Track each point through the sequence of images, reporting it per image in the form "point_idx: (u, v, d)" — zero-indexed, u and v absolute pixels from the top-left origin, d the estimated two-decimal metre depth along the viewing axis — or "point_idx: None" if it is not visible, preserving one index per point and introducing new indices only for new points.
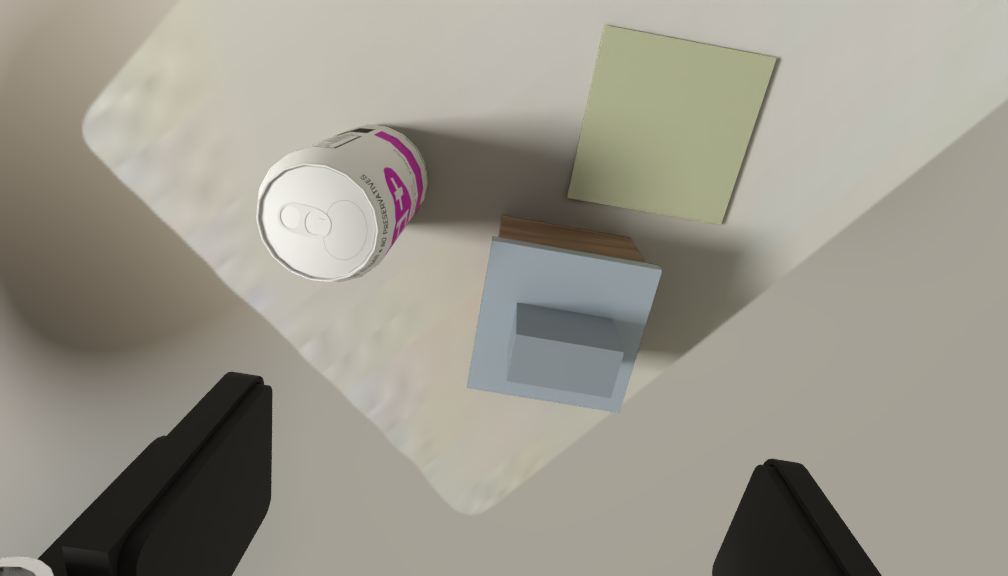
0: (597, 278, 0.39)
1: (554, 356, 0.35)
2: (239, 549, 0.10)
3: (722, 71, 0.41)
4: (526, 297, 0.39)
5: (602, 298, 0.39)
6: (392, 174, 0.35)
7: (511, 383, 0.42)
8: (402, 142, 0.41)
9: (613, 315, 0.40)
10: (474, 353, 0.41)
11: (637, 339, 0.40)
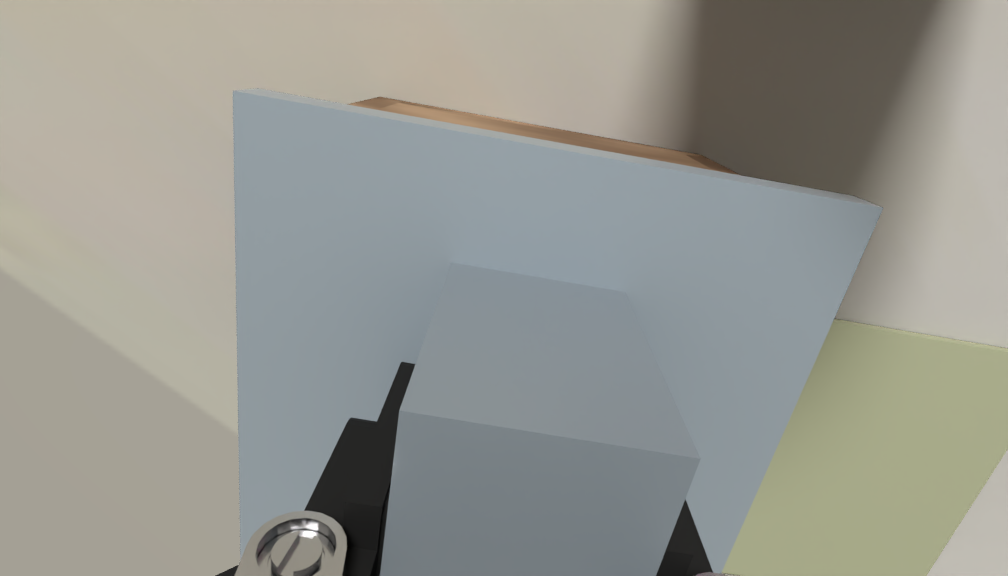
0: None
1: None
2: None
3: (912, 539, 0.24)
4: (641, 323, 0.11)
5: None
6: None
7: (289, 274, 0.11)
8: None
9: None
10: (404, 129, 0.10)
11: None
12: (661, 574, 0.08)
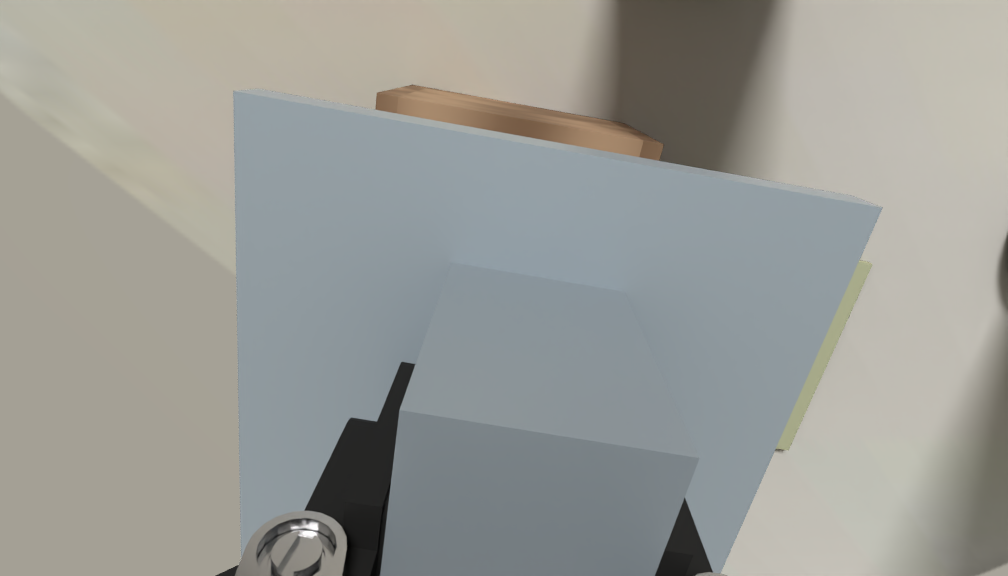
0: None
1: None
2: None
3: None
4: (641, 323, 0.11)
5: None
6: None
7: (289, 274, 0.11)
8: None
9: None
10: (404, 129, 0.10)
11: None
12: (661, 574, 0.08)
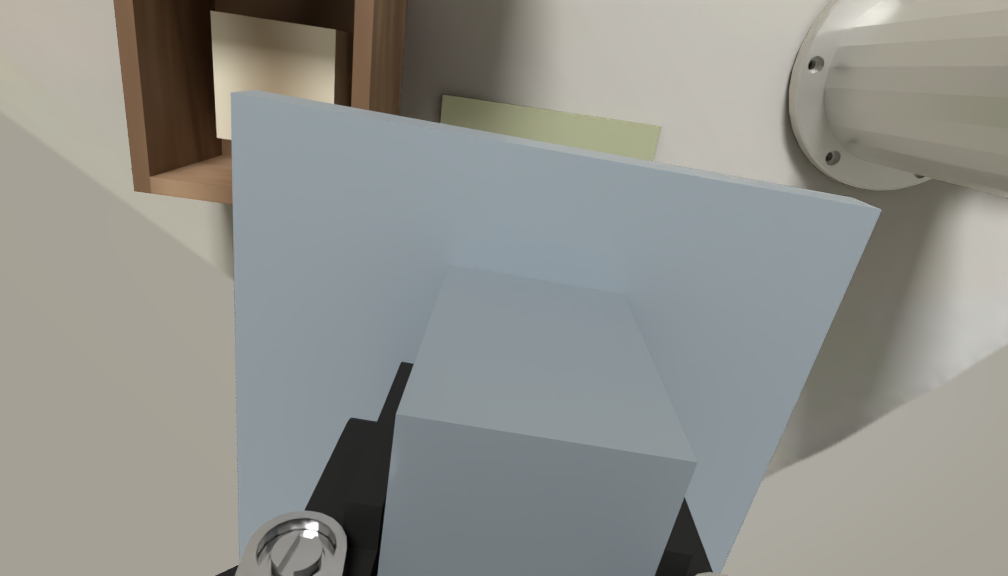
0: None
1: None
2: None
3: None
4: (640, 325, 0.11)
5: None
6: None
7: (287, 276, 0.11)
8: None
9: None
10: (402, 131, 0.10)
11: None
12: (661, 574, 0.08)
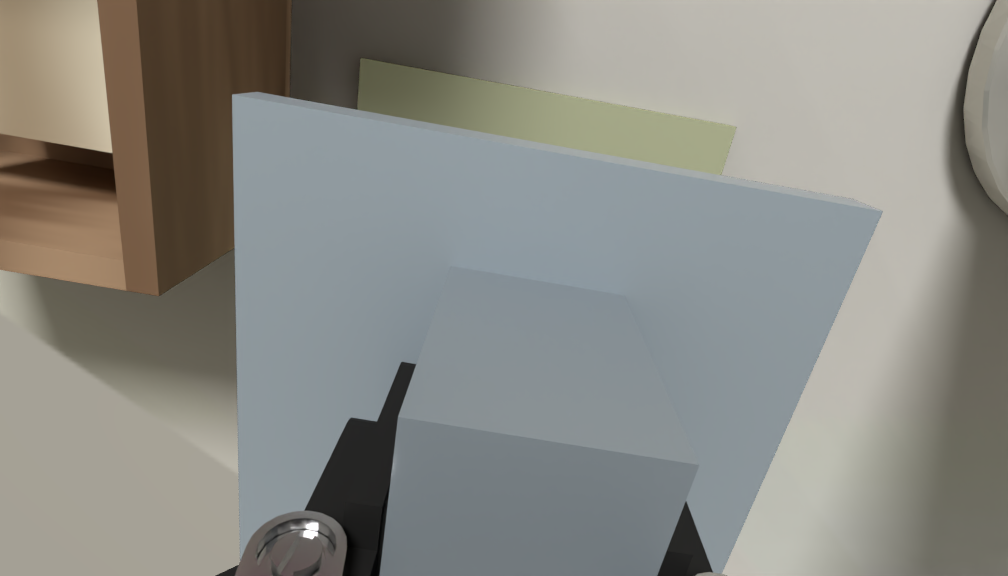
0: None
1: None
2: None
3: None
4: (641, 326, 0.11)
5: None
6: None
7: (288, 278, 0.11)
8: None
9: None
10: (403, 133, 0.10)
11: None
12: (661, 574, 0.08)
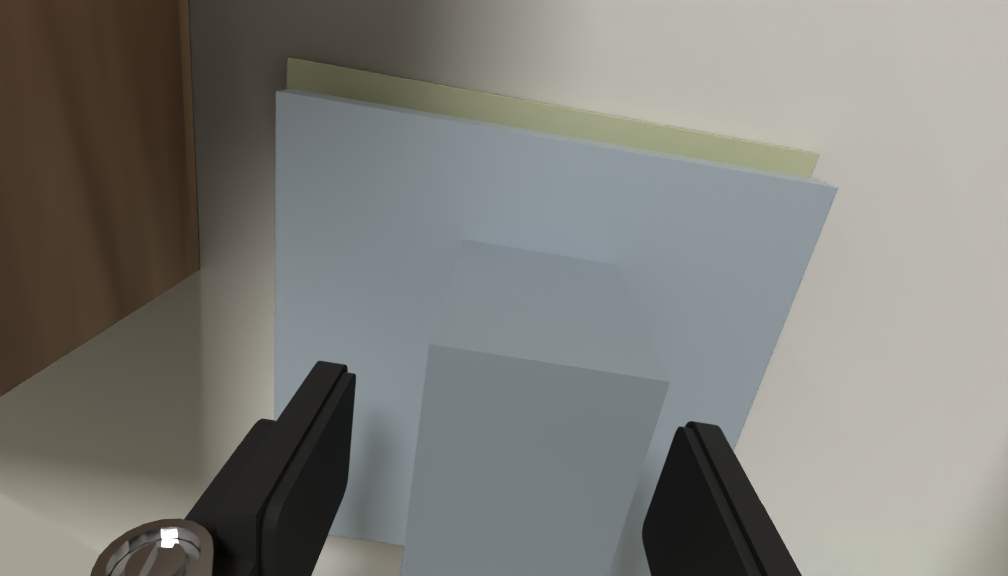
0: None
1: (555, 514, 0.09)
2: (327, 524, 0.10)
3: None
4: (630, 292, 0.13)
5: None
6: None
7: (321, 251, 0.13)
8: None
9: None
10: (422, 123, 0.12)
11: None
12: None
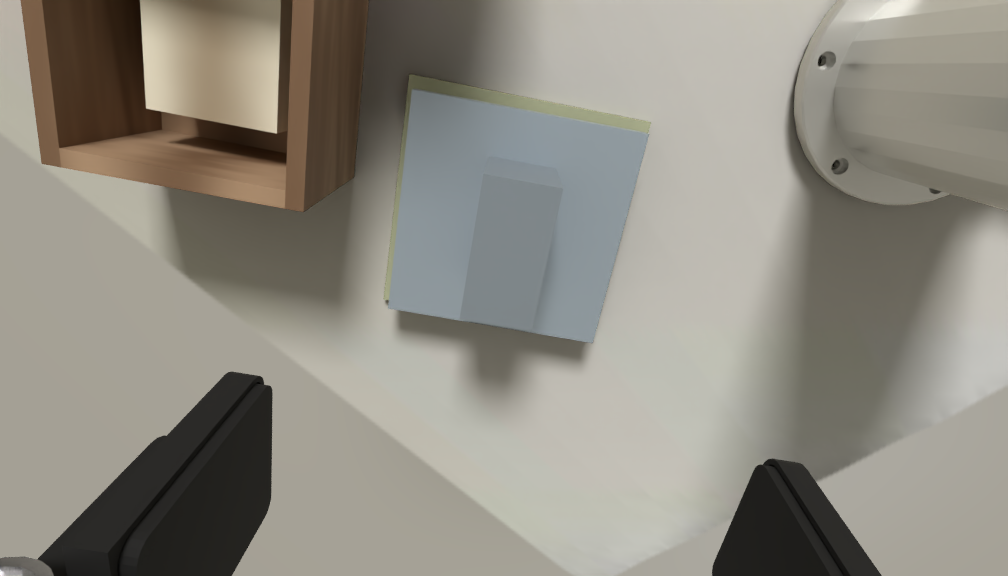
0: (585, 271, 0.30)
1: (525, 243, 0.25)
2: (239, 549, 0.10)
3: None
4: (562, 181, 0.29)
5: (558, 278, 0.31)
6: None
7: (425, 161, 0.28)
8: None
9: None
10: (473, 104, 0.27)
11: None
12: None
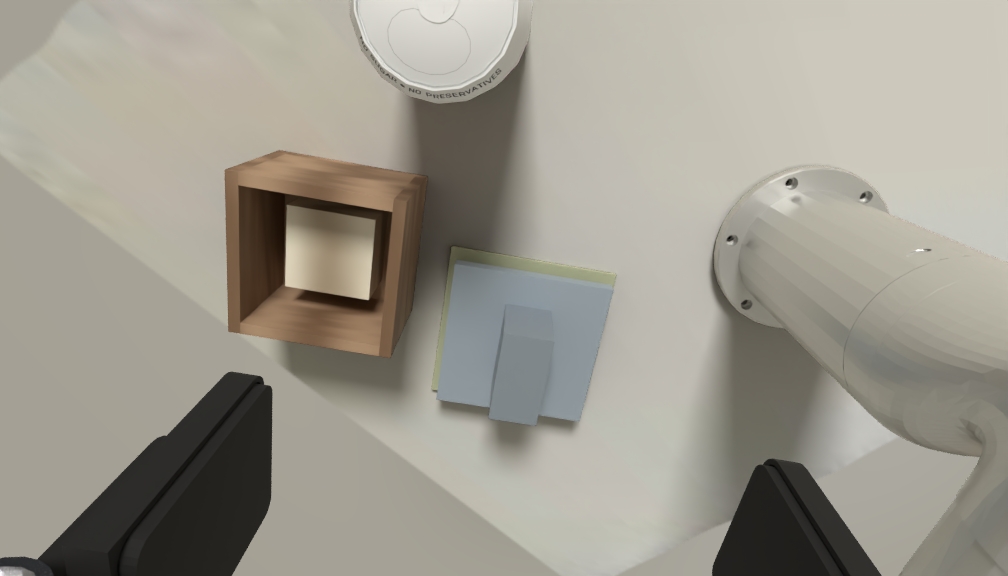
0: (573, 375, 0.44)
1: (531, 373, 0.38)
2: (239, 549, 0.10)
3: None
4: (556, 319, 0.42)
5: (554, 379, 0.44)
6: None
7: (463, 306, 0.42)
8: None
9: None
10: (495, 272, 0.41)
11: None
12: None
